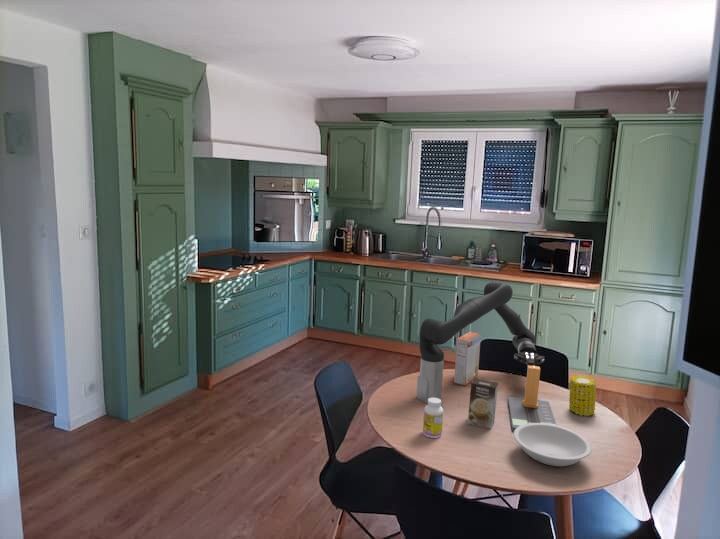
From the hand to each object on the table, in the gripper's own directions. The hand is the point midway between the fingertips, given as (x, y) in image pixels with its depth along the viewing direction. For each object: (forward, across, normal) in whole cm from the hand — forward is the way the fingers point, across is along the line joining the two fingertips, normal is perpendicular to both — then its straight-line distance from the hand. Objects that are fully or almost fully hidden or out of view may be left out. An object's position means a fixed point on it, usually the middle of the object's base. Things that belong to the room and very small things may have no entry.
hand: (531, 364), depth 214 cm
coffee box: (+28, -19, +15) cm, 37 cm away
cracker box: (-14, -26, +15) cm, 33 cm away
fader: (+10, 0, +13) cm, 17 cm away
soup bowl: (+47, +2, +15) cm, 49 cm away
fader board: (+17, 0, +15) cm, 23 cm away
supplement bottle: (+42, -36, +15) cm, 57 cm away
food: (+6, +20, +16) cm, 26 cm away
